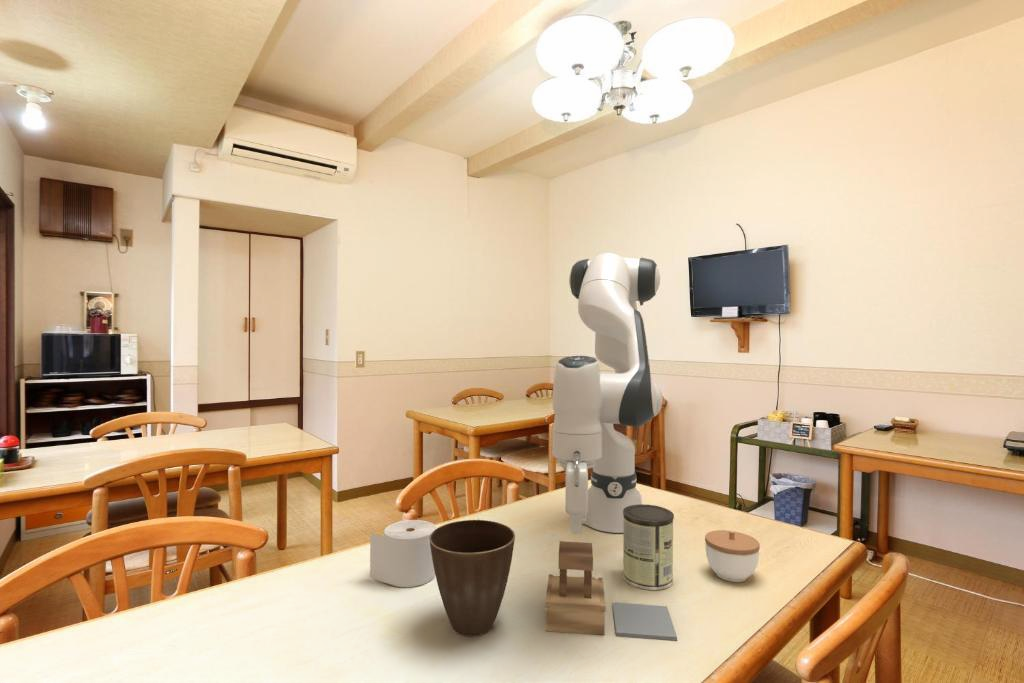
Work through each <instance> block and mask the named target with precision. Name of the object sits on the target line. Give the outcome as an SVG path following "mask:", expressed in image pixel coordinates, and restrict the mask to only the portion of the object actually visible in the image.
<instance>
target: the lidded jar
mask: <svg viewBox="0 0 1024 683" xmlns="http://www.w3.org/2000/svg"><path fill="white" fill-rule="evenodd" d="M704 541H705V543H704V544H705V555H706V558H707V559H706V560H707V562H708V564H709V566H710V568H711V570H712V571H714V573H715V574H716V577H718V578H720V579H722V580H724V581H727V582H731V583H742V582H743V583H744V582H745V581H747V580H748V578H749V577H751V576H752V575H753V574H754V573H755V571H756V569H757V567H758V563H759V556H760V543H759V541H758V540H757V539H756V537H755V538H754V537H753V536H752V535H748V534H745V533H743V532H739V531H735V530H725V529H724V530H722V529H720V530H719V529H718V530H712V531H709V532H707V533H706V534H705V536H704Z"/></svg>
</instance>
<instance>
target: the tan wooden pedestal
mask: <svg viewBox="0 0 1024 683" xmlns="http://www.w3.org/2000/svg"><path fill="white" fill-rule="evenodd" d="M559 577H560V575H554V574H550V573H549V574H548V575H547V585H546V594H545V631H546V632H547V631H548V632H559V633H561V632H562V633H572V634H584V635H585V634H586V635H599V636H605V634H606V633H605V629H606V628H605V626H606V624H605V623H606V621H605V620H606V615H605V614H606V598H605V590H604V589H605V588H604V581H603V580H604V579H603V577H592V592H591V599H589V598H584V576H582V577H581V576H567V585H566V597H560V596H559Z"/></svg>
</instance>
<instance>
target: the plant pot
mask: <svg viewBox="0 0 1024 683" xmlns="http://www.w3.org/2000/svg"><path fill="white" fill-rule="evenodd" d="M429 540H430V547H431V554H432V560H433V566H434V571H435V576H434V577H435V579H436V583H437V587H438V591H439V594H440V599H441V601H442V604H443V607H444V610H445V613H446V615H447V618H448V621H449V624H450V626H451V628H452V630H453V631H454V632H455V633H456V634H458V635H460V636H465V637H477V636H483V635H485V634H486V633H488V632H490V631H491V630H492V629H493V627H494V624H495V622H496V621H497V620H496V619H497V617H498V614H499V611H500V608H501V606H502V602H503V599H504V595H505V592H506V588H507V584H508V580H509V575H510V571H511V565H512V559H513V554H514V546H515V540H516V534H515V531H514V530H513V529H512V528H511V527H509V526H508V525H506V524H503V523H501V522H496V521H491V520H485V519H483V520H482V519H467V520H466V519H463V520H457V521H453V522H449V523H445V524H443V525H441V526H439V527H437V528H436V529H435V530H434V531H433V532H432V533H431V535H430V537H429Z"/></svg>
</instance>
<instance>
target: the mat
mask: <svg viewBox="0 0 1024 683" xmlns="http://www.w3.org/2000/svg"><path fill="white" fill-rule="evenodd" d="M611 604H612V605H611V606H612V611H613V613H612V614H613V620H614V627H615V636H616V637H625V638H626V637H627V638H639V639H648V640H649V639H650V640H651V639H653V640H663V641H664V640H666V641H678V636H677V633H676V629H675V626H674V624H673V621H672V617H671V614H670V611H669V608H668V606H667V605H657V604H655V605H654V604H643V603H641V604H640V603H628V602H627V603H626V602H625V603H624V602H612V603H611Z"/></svg>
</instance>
